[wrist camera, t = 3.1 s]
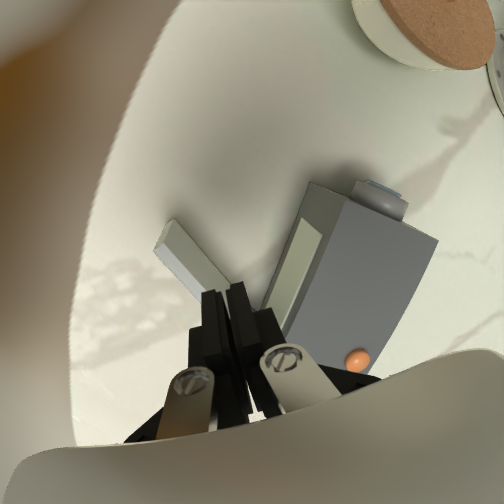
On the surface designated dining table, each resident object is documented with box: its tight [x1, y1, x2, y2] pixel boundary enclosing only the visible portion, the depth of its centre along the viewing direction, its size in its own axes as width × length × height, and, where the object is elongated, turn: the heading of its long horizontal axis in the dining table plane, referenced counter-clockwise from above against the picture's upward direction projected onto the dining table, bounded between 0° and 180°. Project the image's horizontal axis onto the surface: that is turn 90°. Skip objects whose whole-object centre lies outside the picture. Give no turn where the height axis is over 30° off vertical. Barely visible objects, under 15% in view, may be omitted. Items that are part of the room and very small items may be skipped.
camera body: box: [260, 180, 438, 375], centre depth 22 cm, size 14×8×7 cm, turn 161°
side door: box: [153, 218, 255, 317], centre depth 21 cm, size 10×1×6 cm, turn 36°
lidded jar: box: [351, 0, 495, 71], centre depth 14 cm, size 11×11×9 cm
